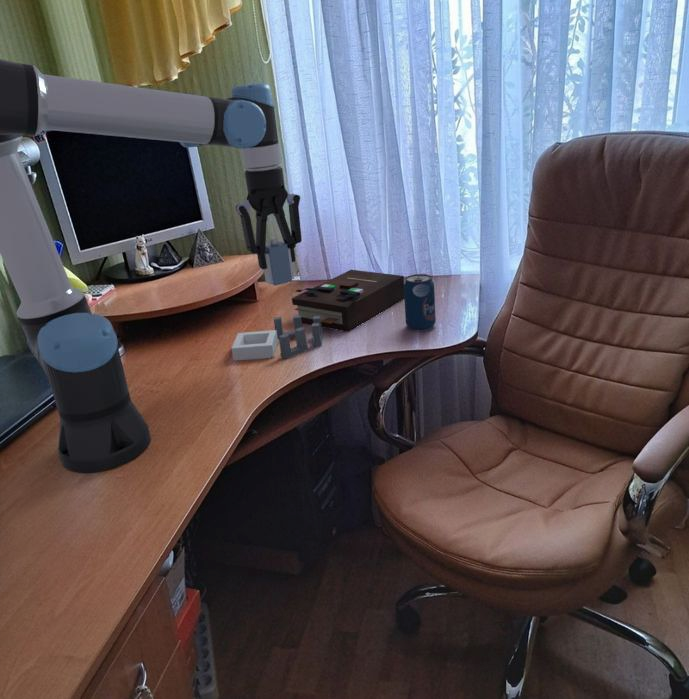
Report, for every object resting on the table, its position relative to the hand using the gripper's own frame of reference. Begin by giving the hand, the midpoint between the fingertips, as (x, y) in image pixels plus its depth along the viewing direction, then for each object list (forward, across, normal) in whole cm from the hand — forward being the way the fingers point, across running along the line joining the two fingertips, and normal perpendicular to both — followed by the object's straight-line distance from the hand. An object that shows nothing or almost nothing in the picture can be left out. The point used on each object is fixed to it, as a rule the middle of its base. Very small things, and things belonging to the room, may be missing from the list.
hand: (279, 279), depth 140 cm
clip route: (+17, -3, -3) cm, 18 cm away
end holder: (+17, +6, -7) cm, 19 cm away
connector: (0, 0, 0) cm, 0 cm away
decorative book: (+18, -24, -16) cm, 34 cm away
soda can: (+18, -31, +5) cm, 36 cm away
